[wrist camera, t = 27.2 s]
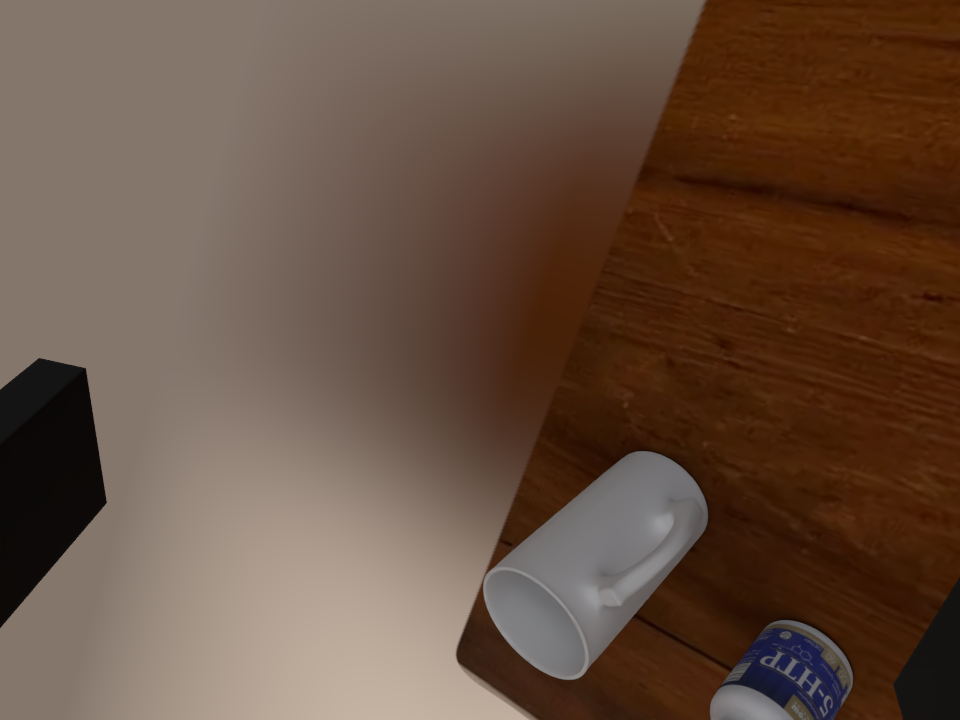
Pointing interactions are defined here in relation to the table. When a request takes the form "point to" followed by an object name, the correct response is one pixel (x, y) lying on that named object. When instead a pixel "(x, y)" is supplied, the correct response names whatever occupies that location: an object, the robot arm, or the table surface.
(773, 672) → the pill bottle
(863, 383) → the table surface
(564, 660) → the mug
